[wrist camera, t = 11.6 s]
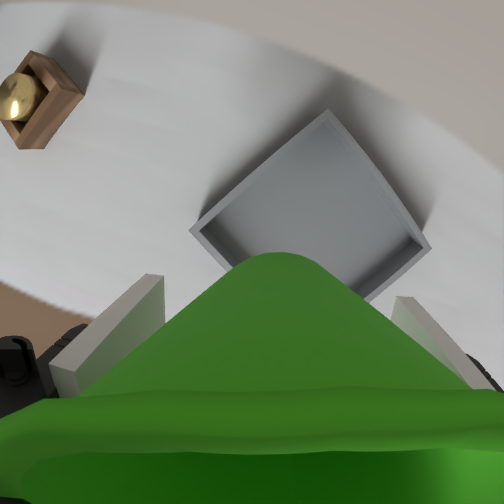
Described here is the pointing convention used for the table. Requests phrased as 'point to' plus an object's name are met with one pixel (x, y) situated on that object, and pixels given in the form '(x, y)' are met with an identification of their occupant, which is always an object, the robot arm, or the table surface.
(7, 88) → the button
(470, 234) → the table surface
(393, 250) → the tray
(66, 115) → the block
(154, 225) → the table surface
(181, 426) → the cup
